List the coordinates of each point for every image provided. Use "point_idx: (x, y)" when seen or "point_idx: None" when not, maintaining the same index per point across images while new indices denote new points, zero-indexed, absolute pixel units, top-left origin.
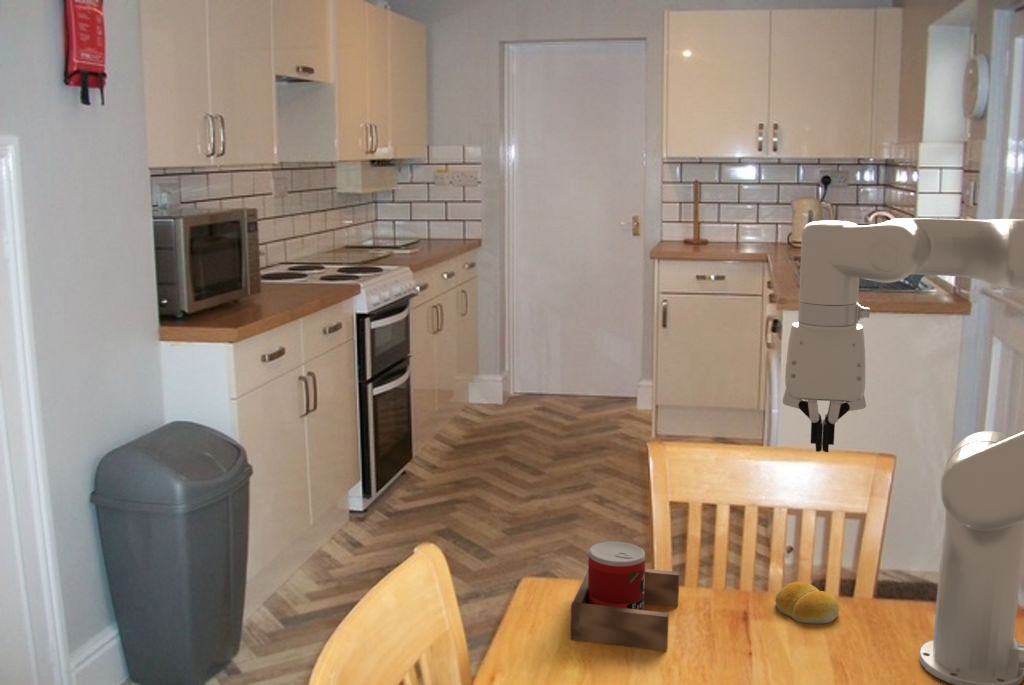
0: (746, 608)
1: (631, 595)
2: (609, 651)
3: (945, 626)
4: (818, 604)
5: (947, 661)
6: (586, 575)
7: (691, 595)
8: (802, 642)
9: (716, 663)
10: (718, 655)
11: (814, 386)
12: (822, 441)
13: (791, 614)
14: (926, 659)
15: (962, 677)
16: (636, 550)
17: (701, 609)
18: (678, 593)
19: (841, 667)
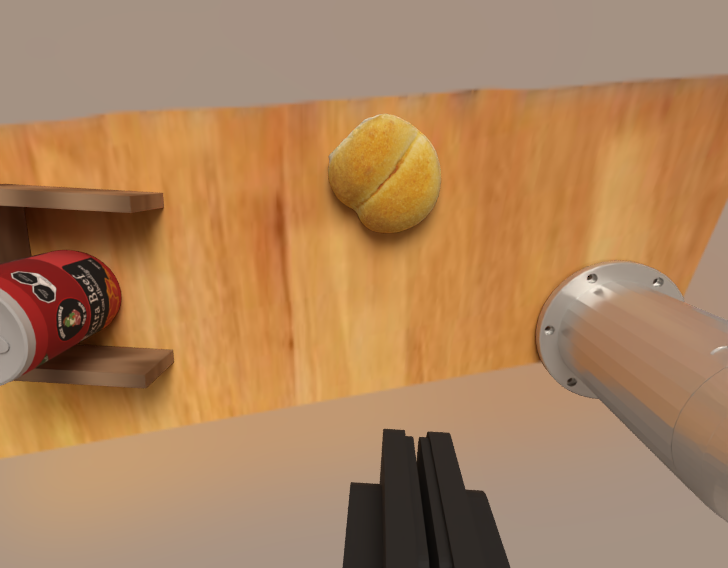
0: (280, 186)
1: (66, 349)
2: None
3: (594, 390)
4: (401, 223)
5: (572, 371)
6: None
7: (179, 149)
8: (369, 295)
9: (246, 381)
10: (247, 358)
11: None
12: (419, 476)
13: (356, 211)
14: (545, 345)
15: (581, 388)
16: (4, 314)
17: (204, 206)
18: (152, 198)
19: (418, 360)
